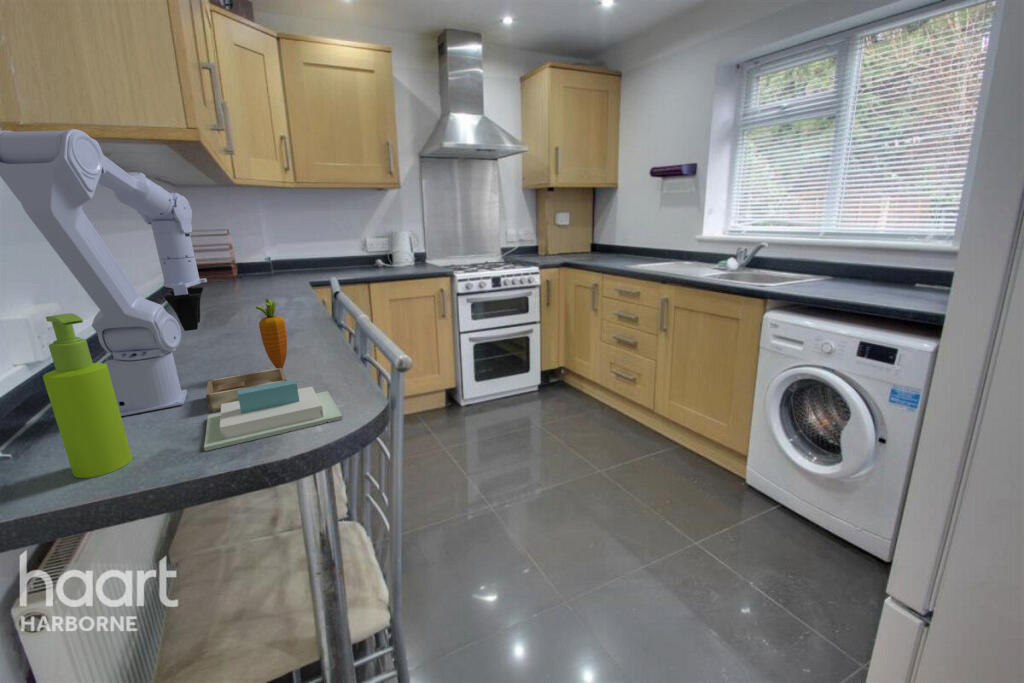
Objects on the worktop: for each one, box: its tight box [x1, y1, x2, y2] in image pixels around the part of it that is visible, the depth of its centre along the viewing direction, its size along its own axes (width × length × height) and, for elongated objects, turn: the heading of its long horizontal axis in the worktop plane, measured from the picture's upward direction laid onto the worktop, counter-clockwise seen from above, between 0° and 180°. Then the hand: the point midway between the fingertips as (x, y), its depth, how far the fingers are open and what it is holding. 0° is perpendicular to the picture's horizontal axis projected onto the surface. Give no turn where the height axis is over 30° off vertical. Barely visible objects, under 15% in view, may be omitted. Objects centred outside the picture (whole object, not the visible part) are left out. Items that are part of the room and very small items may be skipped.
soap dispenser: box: [42, 313, 133, 479], centre depth 58 cm, size 6×7×20 cm
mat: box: [203, 390, 343, 452], centre depth 73 cm, size 18×13×1 cm
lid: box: [220, 379, 324, 439], centre depth 72 cm, size 13×10×5 cm
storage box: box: [205, 368, 288, 413], centre depth 83 cm, size 12×9×3 cm
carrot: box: [255, 298, 288, 369], centre depth 96 cm, size 5×5×15 cm
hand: (192, 326), depth 94 cm, fingers open, 7 cm apart
